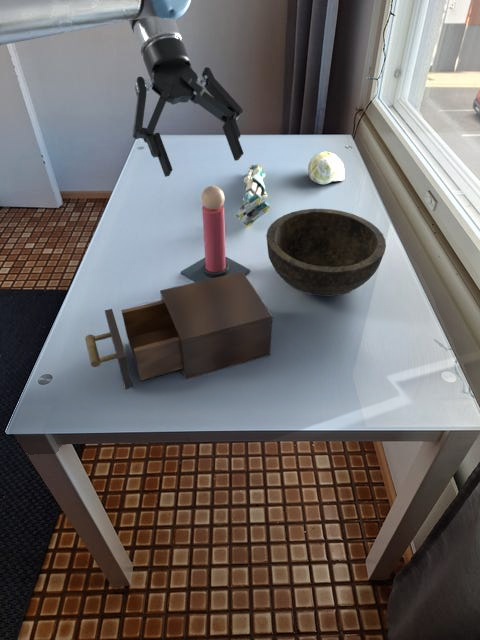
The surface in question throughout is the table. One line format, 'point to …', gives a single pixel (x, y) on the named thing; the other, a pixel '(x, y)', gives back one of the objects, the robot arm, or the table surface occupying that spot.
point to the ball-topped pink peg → (214, 232)
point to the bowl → (324, 250)
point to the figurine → (253, 196)
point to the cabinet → (219, 323)
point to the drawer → (141, 342)
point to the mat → (197, 275)
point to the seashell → (325, 168)
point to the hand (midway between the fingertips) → (205, 165)
